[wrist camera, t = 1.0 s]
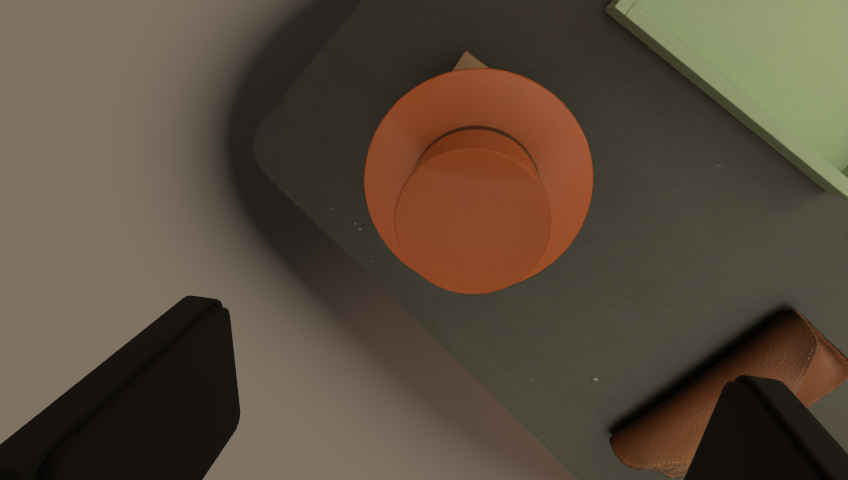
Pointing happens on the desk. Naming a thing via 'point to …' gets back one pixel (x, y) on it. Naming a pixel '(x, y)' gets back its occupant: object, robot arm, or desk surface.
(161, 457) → the robot arm
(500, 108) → the small hat
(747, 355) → the sunglasses case
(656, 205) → the desk surface
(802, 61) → the tray
